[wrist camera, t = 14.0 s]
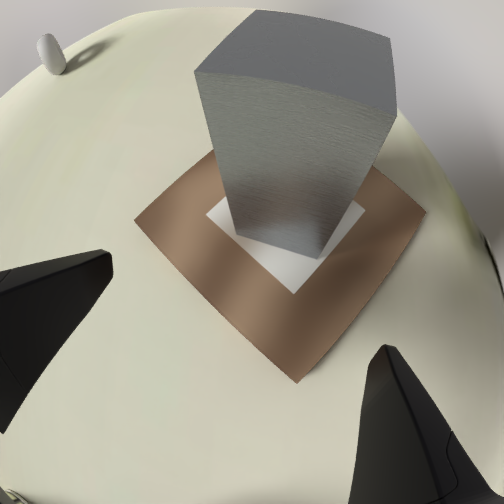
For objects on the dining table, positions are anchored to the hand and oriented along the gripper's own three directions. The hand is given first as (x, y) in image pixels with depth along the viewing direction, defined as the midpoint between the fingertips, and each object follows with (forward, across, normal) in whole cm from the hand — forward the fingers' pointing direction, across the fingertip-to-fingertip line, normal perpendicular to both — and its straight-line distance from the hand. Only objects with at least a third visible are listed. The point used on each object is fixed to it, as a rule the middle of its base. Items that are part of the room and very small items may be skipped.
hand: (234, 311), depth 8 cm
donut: (+27, +47, -12) cm, 56 cm away
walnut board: (+13, 0, +2) cm, 13 cm away
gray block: (+12, 0, +1) cm, 12 cm away
